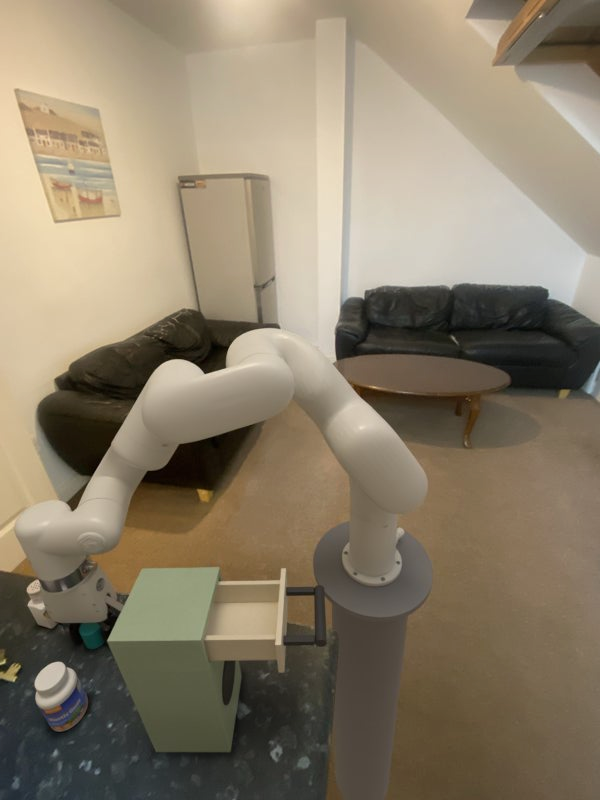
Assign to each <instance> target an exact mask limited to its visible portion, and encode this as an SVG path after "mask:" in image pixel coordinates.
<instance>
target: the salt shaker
mask: <svg viewBox="0 0 600 800" xmlns="http://www.w3.org/2000/svg"><path fill="white" fill-rule="evenodd" d="M39 584H40V582H39V580H38V579H35V580H34V581H32V582H30V583H29V584H28V586H27V587H26V593H27V595H28V597H29V599H30V600H29V601H28V603H27V607H28V609H29V611H30V613H31V614H32V616H33V619H34V620H35V622H36V624H37V625H38V626H41V627H45V628H47V629H55V627H56V626H57V625H58V623H55V622H54V621H53V620H52V619H50V618H47V617H45V616H43V613H44V612H45V611H46V608H45V605H44V603H43V600H42V596H41V592H40V586H39Z"/></svg>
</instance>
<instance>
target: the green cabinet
mask: <svg viewBox="0 0 600 800" xmlns="http://www.w3.org/2000/svg"><path fill="white" fill-rule="evenodd" d="M221 571H222V570H221V568H220V566H202V567H199V566H198V567H151V568H150V567H147V568H146V567H145V568H141V569H140V572H139V573H138V576H137V578H136V580H135V582H134V584H133V585H132V588H131V590H130V593H129V595H128V596H127V599H126V601H125V603H124V604H123V605H124V607H123V609H122V611H121V613H120V615H119V617H118V619H117V621H116V622H115V626H114V628H113V630H112V632H111V634H110V636H109V638H108V640H107V642H108V645H107V646H108V647H109V649H110V651H111V654H112V655H113V658H114V660H115V663H116V666H117V667H118V669H119V672H120V674H121V676H122V679H123V681H124V683H125V686H126V688H127V690H128V692H129V695H130V697H131V699H132V701H133V703H134V706H135V708H136V711H137V713H138V714H139V717H140V719H141V721H142V724H143V726H144V728H145V731H146V733H147V735H148V737H149V740H150V742H151V744H152V746H153V748H154V751H155V753H231V752H232V745H233V738H234V731H235V724H236V719H237V713H238V704H239V703H238V702H239V698H240V690H241V683H242V671H241V665H240V660H224V661H209V660H208V656H207V652H206V648H205V644H204V641H203V640H204V637H205V633H206V629H207V625H208V621H209V617H210V613H211V609H212V605H213V601H214V597H215V593H216V589H217V585H218V581H223V576H222V572H221Z"/></svg>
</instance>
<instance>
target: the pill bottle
mask: <svg viewBox="0 0 600 800" xmlns="http://www.w3.org/2000/svg"><path fill="white" fill-rule="evenodd" d="M34 688H35V690H36V692H35V695H34V697H35V699H34V700H35V703H36V705H37V707H38V708H39V711H40V712H41V713H42V715H43V717H44V718H45V720H46V722H47V723H48V725H49V727H50V728H51V729H52V730H53V731H54V732H65V731H68V730H70V729H72V728H73V727H74V726H76V725H77V724H78V723H79V722H81V720H82V718H83V717H84V715H85V714H86V711H87V709H88V705H89V698H88V695H87V692H86V690H85V688H84V686H83V683H82V682H81V680H80V679H79V676H78V674H77V673H76V671H75V670H74V669H73V668H72V667H67V666H66V664H65V663H64V662H62V661H54V662H51V663H49V664H47V665H45V667H43V668H42V669H41V670H40V672H39V673H38V674H37V676H36V677H35V680H34Z"/></svg>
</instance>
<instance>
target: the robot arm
mask: <svg viewBox="0 0 600 800" xmlns="http://www.w3.org/2000/svg"><path fill="white" fill-rule="evenodd" d="M292 400H293V401H294V402H295V403H296V405H297V406H298V407H299V408H300V409H301V410H302V411H303V412H304V413H305V415H307V416H308V417H309V418H310V420H311V421H312V422H313V424H314V425H315V426H316V427H317V429H318V430H319V431H320V434H321V435H322V437H323V440H324V441H325V443H326V444H327V447H328V448H329V449H330V451H331V453H332V454H333V456H334V458H335V459H336V461H337V462H338V464H339V466H340V467H341V468H342V469H343V471H344V472H345V473H346V474H347V475H348V483H349V521H350V524H349V542H348V544H347V545H346V546H345V548H344V549H343V553H342V564H343V567H344V569H345V571H346V572H347V574H348V575H349V576H350V577H351V578H352V579H354V580H355V581H357V582H359V583H361V584H363V585H367V586H374V587H378V586H384V585H387V584H390V583H391V582H393V581H394V580H395V579H397V577H398V576H399V574H400V572H401V567H402V559H401V556H400V553H399V551H398V550H397V549H396V544H397V543H398V540H399V539H400V538H401V537H402V536H403V535H404V534H405V532H404V530H405V529H404V528H402V527H400V526H398V524H399V523H398V522H399V515H405V514H409V513H412V512H413V511H415V510H417V509H419V508H420V507H421V505H422V504H423V503H424V502H425V500H426V497H427V495H428V491H429V481H428V477H427V474H426V472H425V470H424V469H423V467H422V466H421V465H420V462H418V460H417V459H416V457H415V456H414V455H413V453H412V452H411V450H410V449H409V448H408V447H407V445H406V443H405V442H404V441H403V440H402V438H401V437H400V436H399V435H398V433H397V432H396V431H395V430H394V429H393V427H392V426H391V424H389V423H388V422H387V421H386V419H384V418H383V416H382V415H380V414H379V413H378V412H377V410H375V408H374V407H372V406H371V405H370V404H369V403H368V402H367V401H365V400H364V399H363V398H362V397H361V396H360V395H359V394H358V393H357V392H356V390H355V389H354V388H353V387H352V386H351V384H350V383H349V382H348V380H347V379H346V378H345V376H343V375H342V373H341V372H340V371H339V370H338V369H337V367H336V366H335V364H333V362H332V361H331V360H330V359H329V358H328V356H326V355H325V353H324V352H323V351H321V350H320V349H319V348H318V347H317V346H316V345H315V344H313V343H312V342H311V341H309V340H308V339H306V338H305V337H303V336H301V335H299V334H296V333H294V332H291V331H289V330H285V329H281V328H276V327H264V328H257V329H252V330H248V331H246V332H244V333H242V334H240V335H239V336H237V337H236V338H235V339H234V340H233V341H232V343H230V346H229V348H228V350H227V353H226V357H225V368H222V369H219V370H215V371H212V372H209V373H204V371H203V370H202V369H201V368H200V367H199V366H198V365H196V364H195V363H193V362H191V361H189V360H185V359H179V358H178V359H177V358H175V359H170V360H167V361H165V362H163V363H161V364H160V365H159V366H158V367H156V368H155V369H154V371H153V372H152V374H151V375H150V377H149V378H148V380H147V382H146V383H145V385H144V387H143V388H142V390H141V392H140V393H139V396H138V397H137V398H136V401H135V403H134V404H133V406H132V408H131V409H130V411H129V412H128V414H127V416H126V417H125V419H124V421H123V423H122V424H121V426H120V428H119V429H118V431H117V433H116V434H115V436H114V438H113V439H112V441H111V443H110V447H109V448H108V449H107V451H106V453H105V454H104V456H103V457H102V459H101V461H100V463H99V465H98V466H97V468H96V470H95V471H94V473H93V474H92V476H91V477H90V480H89V481H88V483H87V485H86V487H85V490H84V491H83V493H82V496H81V498H80V500H79V503H78V505H77V507H76V508H75V509H74V510H72V508H71V507H70V505H69V504H68V503H67V502H65V501H63V500H61V499H50V500H45V501H41V502H38V503H36V504H34V505H32V506H29V507H28V508H27V509H25V510H24V511H23V512H22V513H21V514H20V515H19V516H18V517H17V518H16V520H15V522H14V525H13V532H14V535H15V537H16V539H17V541H18V543H19V546H21V549H22V551H23V553H24V555H25V556H26V558H27V560H28V563H29V565H30V566H31V568H32V570H33V572H34V574H35V576H36V578H37V580H39V582H40V584H39V586H40V592H41V596H42V600H43V603H44V605H45V608H46V611H45V612H44V613H43V616H45V617H47V618H50V619H52V620H53V621H54V622H55V623H57V625H60V626H62V630H63V631H64V632H68V635H69V636H70V639H71V641H72V642H73V644H74V646H80V645H81V643H82V641H83V639H82V637H81V635H80V632H79V628H80V625H81V624H82V623H94V622H96V623H97V624H98V625H99V626H100V627H101V628H102V630H101V635H102V637H103V639H104V641H105V643H104V644H105V645H106V646H109V645H108V642H107V640H108V638H109V636H110V634H111V632H112V630H113V628H114V626H115V623H116V621H117V619H118V617H119V615H120V613H121V611H122V609H123V607H124V605H125V604H123V603H121V602H120V601H118V594H117V592H116V589H115V587H114V586H113V584H112V581H111V579H110V578H109V576H108V575H107V573H106V572H105V571H104V569H103V568H102V566H100V564H98V562H97V561H93V559H92V557H91V556H100V555H104V554H107V553H109V552H111V551H113V550H114V549H115V548H116V547H117V546H118V545H119V543H120V542H121V539H122V537H123V533H124V529H125V524H126V520H127V516H128V512H129V508H130V505H131V501H132V498H133V495H134V493H135V492H136V490H137V489H138V486H139V485H140V483H141V482H142V480H143V479H144V477H145V475H146V474H147V472H148V471H150V472H151V471H158V470H160V469H163V468H164V467H165V466H167V464H168V463H169V461H170V460H171V458H172V457H173V455H174V454H175V452H176V450H177V449H178V447H179V445H181V444H189V443H194V442H198V441H202V440H206V439H209V438H213V437H216V436H220V435H223V434H226V433H228V432H232V431H235V430H238V429H241V428H245V427H249V426H250V425H255V424H258V423H261V422H263V421H266V420H269V419H272V418H273V417H275V416H277V415H279V414H280V413H281V412H283V411H284V410H285V409H286V408H287V407H288V406H289V405H290V403H291V401H292ZM397 526H398V527H399V528H397ZM403 529H404V530H403Z"/></svg>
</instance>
